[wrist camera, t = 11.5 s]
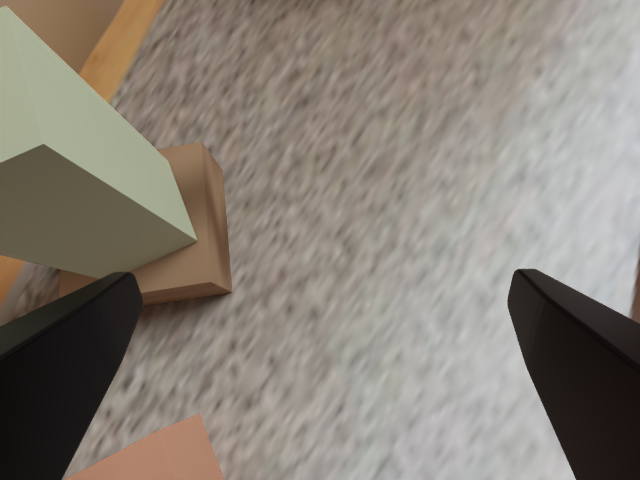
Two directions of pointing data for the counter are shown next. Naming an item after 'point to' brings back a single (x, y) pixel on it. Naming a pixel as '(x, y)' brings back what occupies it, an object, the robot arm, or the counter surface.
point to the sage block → (76, 170)
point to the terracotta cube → (161, 457)
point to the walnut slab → (192, 260)
